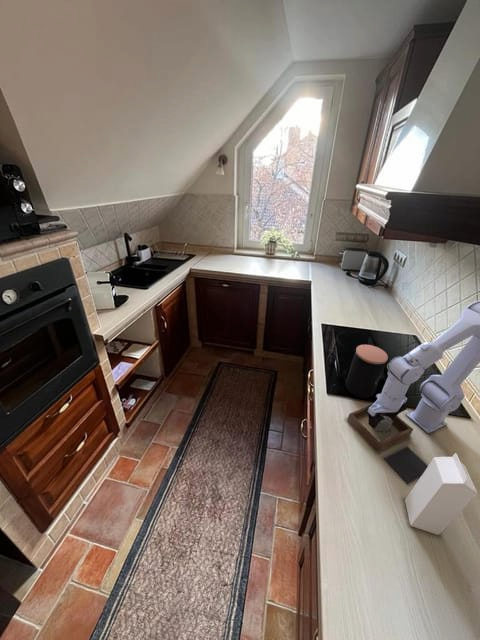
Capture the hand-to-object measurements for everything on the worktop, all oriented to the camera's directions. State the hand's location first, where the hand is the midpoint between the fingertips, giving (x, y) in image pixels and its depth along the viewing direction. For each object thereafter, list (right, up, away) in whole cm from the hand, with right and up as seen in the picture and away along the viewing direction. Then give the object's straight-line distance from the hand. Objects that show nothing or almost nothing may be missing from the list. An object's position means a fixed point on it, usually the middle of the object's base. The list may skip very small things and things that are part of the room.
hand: (379, 422), depth 84 cm
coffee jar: (+1, +6, +17) cm, 18 cm away
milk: (-1, -15, -21) cm, 26 cm away
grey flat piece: (0, -3, +2) cm, 3 cm away
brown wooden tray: (0, -3, +1) cm, 3 cm away
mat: (+3, -9, -9) cm, 13 cm away
